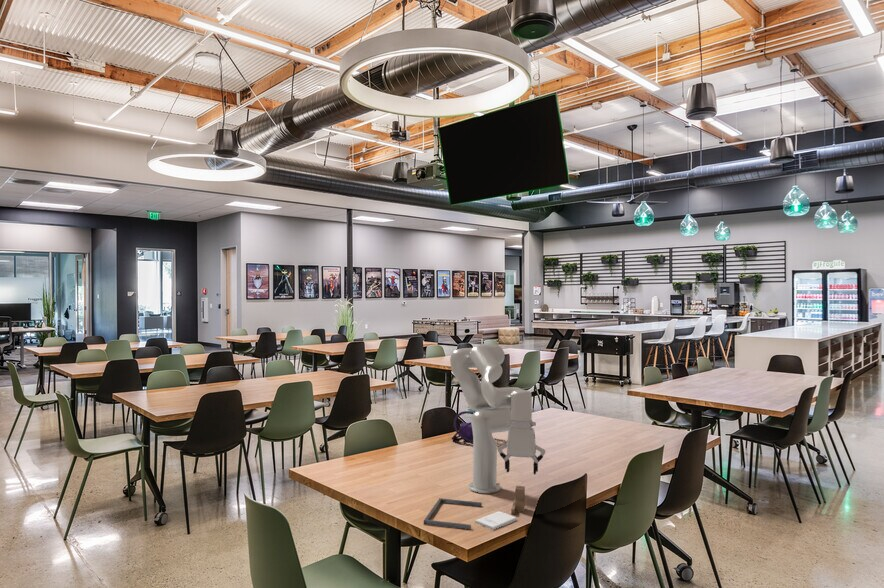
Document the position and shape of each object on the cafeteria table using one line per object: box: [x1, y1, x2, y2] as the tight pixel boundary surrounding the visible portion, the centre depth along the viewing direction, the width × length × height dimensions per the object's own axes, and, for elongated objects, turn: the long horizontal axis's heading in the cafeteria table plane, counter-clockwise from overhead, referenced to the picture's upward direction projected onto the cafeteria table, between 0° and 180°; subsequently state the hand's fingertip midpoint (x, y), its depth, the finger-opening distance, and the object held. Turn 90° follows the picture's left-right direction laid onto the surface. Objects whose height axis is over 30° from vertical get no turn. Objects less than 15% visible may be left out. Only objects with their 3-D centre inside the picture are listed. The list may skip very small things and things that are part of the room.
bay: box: [423, 498, 483, 530], centre depth 190 cm, size 22×16×1 cm
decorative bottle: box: [451, 404, 476, 444], centre depth 296 cm, size 22×21×25 cm
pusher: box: [510, 485, 526, 516], centre depth 196 cm, size 11×4×8 cm, turn 166°
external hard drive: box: [474, 510, 517, 531], centre depth 185 cm, size 2×8×12 cm
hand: (521, 472), depth 195 cm, fingers open, 9 cm apart
